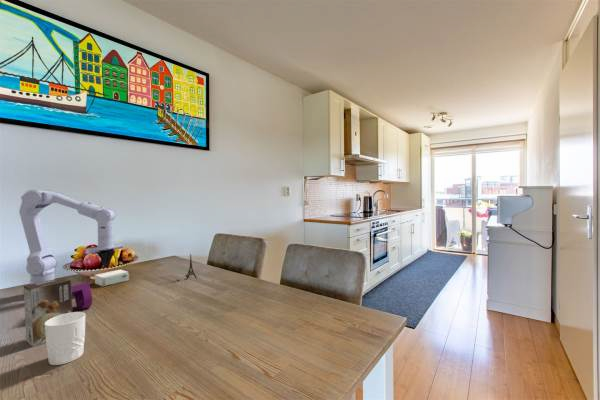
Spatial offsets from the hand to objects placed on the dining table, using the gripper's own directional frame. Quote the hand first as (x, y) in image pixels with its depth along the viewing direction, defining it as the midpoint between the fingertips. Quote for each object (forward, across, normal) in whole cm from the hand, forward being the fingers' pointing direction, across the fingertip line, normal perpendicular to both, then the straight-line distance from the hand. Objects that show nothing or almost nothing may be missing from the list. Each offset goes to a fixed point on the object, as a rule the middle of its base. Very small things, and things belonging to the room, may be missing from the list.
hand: (106, 267), depth 120 cm
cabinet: (+10, +6, +10) cm, 15 cm away
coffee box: (+10, -28, -33) cm, 44 cm away
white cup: (+10, -29, -50) cm, 59 cm away
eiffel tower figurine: (+10, +30, -18) cm, 36 cm away
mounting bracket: (+10, -18, -11) cm, 23 cm away
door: (+10, +6, +5) cm, 12 cm away
